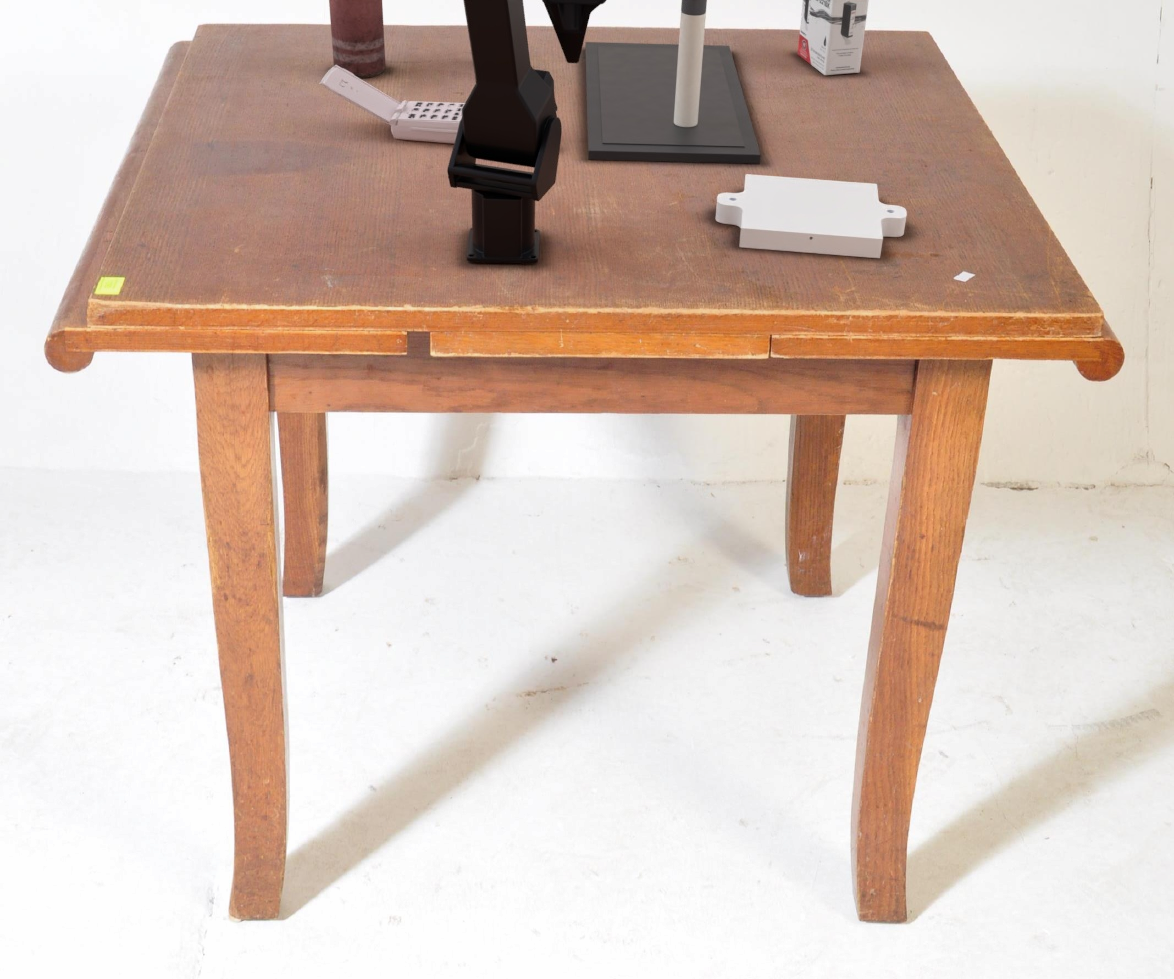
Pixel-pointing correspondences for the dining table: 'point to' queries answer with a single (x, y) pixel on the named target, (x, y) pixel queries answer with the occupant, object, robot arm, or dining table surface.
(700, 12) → the white plastic rod
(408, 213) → the dining table surface
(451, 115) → the mobile phone
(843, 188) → the mounting plate
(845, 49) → the ink box
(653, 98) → the tablet
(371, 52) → the can
